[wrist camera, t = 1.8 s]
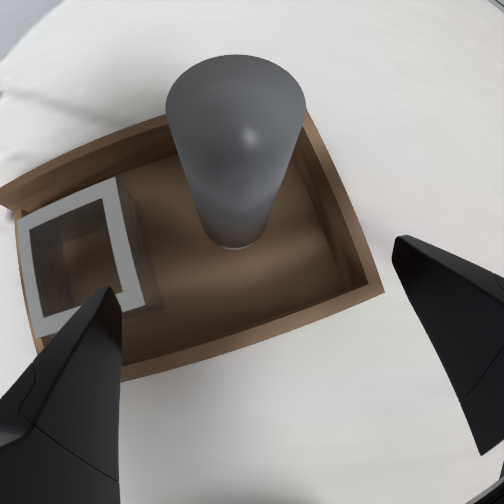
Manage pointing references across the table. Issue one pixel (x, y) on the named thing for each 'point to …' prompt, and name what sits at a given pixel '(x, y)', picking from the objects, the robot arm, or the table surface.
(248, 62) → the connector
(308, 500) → the table surface
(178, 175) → the box
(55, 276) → the frame
